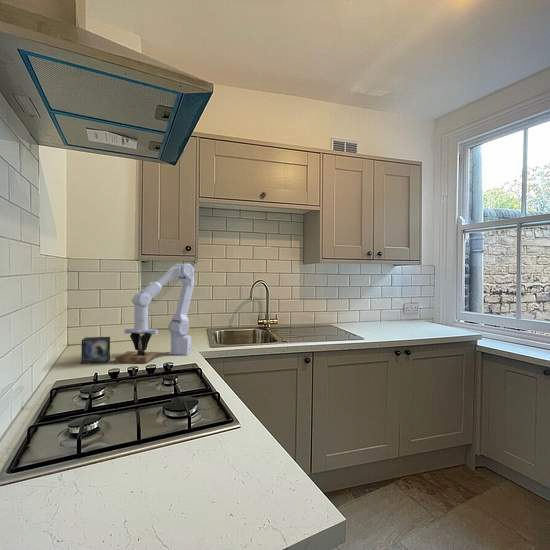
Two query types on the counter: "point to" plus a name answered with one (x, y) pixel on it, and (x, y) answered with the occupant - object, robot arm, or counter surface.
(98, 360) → the small box
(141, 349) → the peg
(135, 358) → the hole block
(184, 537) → the counter surface
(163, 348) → the counter surface
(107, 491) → the counter surface
